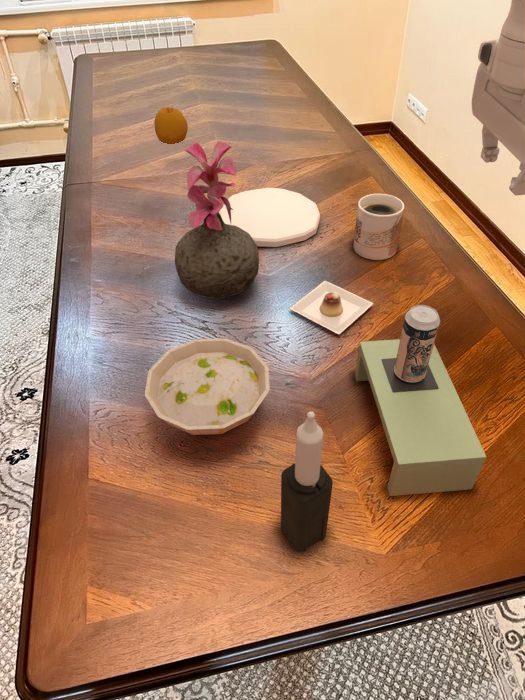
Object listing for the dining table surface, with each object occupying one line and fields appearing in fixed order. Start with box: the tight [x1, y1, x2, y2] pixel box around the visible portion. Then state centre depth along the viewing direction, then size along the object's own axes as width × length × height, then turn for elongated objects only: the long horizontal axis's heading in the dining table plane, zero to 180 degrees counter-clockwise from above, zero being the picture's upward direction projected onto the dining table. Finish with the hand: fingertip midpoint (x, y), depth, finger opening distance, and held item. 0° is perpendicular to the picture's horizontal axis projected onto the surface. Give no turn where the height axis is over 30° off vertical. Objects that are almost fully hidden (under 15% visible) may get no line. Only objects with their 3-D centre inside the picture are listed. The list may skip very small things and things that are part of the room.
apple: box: [153, 106, 189, 144], centre depth 161 cm, size 10×10×12 cm
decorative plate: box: [219, 187, 321, 248], centre depth 131 cm, size 25×4×25 cm
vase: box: [174, 140, 260, 300], centre depth 103 cm, size 17×17×30 cm
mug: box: [352, 193, 405, 261], centre depth 120 cm, size 10×12×11 cm
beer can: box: [394, 304, 441, 382], centre depth 79 cm, size 5×5×12 cm
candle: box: [280, 411, 334, 553], centre depth 65 cm, size 5×5×25 cm
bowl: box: [144, 337, 271, 436], centre depth 84 cm, size 19×19×10 cm
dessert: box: [289, 280, 374, 335], centre depth 105 cm, size 12×12×5 cm
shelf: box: [354, 338, 487, 497], centre depth 83 cm, size 12×24×8 cm, turn 5°
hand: (502, 175), depth 72 cm, fingers open, 8 cm apart
